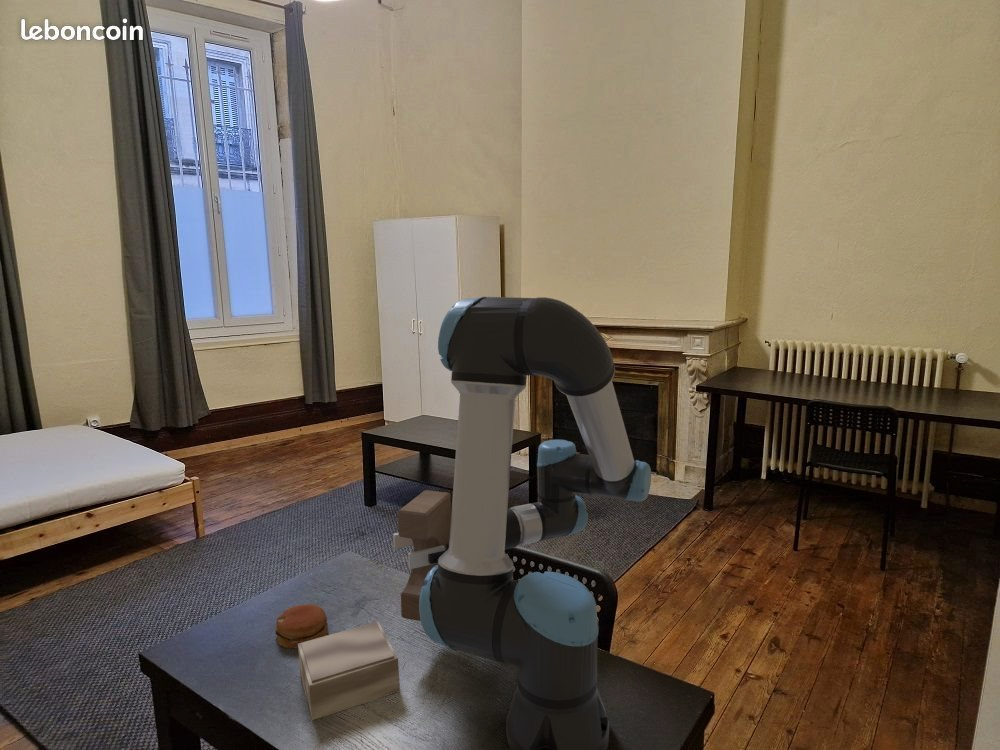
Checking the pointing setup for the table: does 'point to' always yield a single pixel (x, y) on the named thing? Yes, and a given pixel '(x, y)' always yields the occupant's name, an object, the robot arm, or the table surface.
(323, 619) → the burger
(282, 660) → the table surface
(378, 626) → the plinth
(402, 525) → the decorative block
